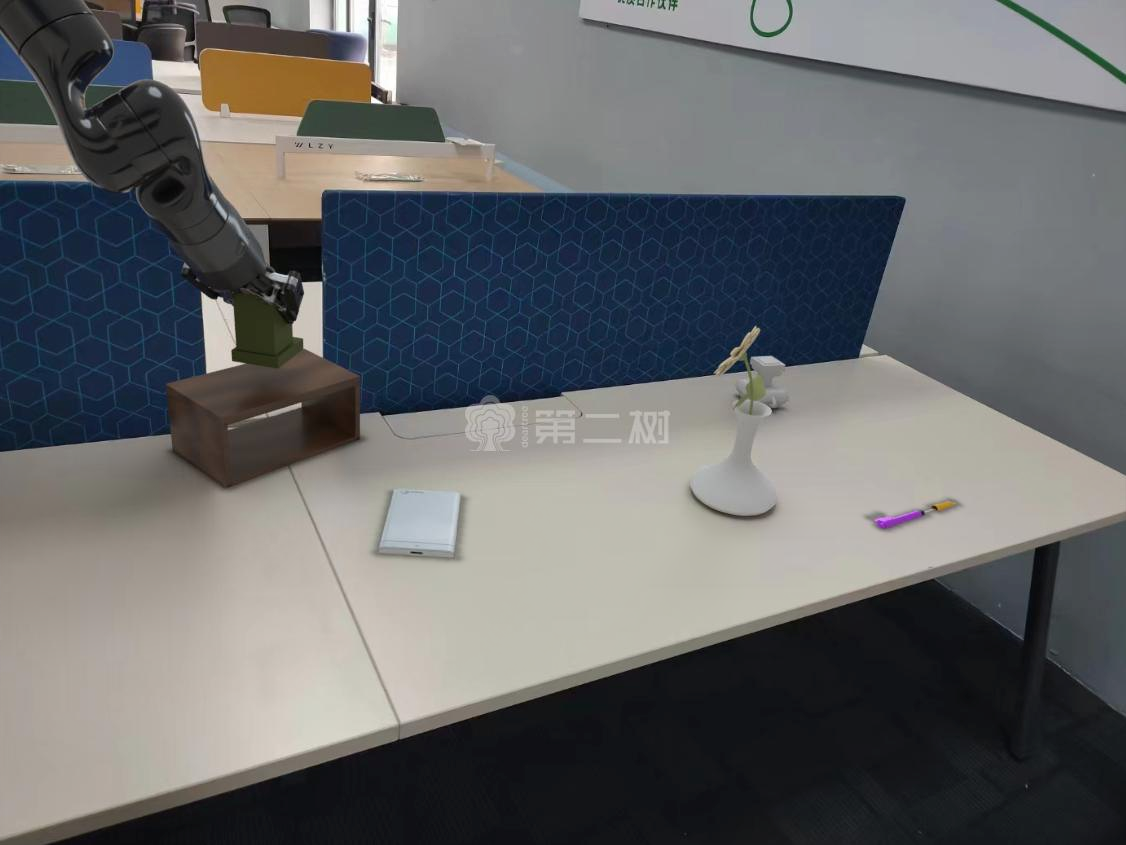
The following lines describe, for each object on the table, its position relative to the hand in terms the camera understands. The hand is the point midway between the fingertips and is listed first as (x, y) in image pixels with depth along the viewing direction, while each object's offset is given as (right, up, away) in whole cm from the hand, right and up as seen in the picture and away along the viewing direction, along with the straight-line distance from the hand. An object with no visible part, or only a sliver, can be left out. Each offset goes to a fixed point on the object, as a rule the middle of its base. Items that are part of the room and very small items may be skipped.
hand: (270, 313), depth 105 cm
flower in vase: (+58, -24, +7) cm, 63 cm away
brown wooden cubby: (-2, -17, +6) cm, 18 cm away
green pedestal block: (-1, -5, +1) cm, 5 cm away
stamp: (+69, -11, +37) cm, 80 cm away
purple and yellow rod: (+84, -26, +9) cm, 88 cm away
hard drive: (+20, -26, -6) cm, 33 cm away
